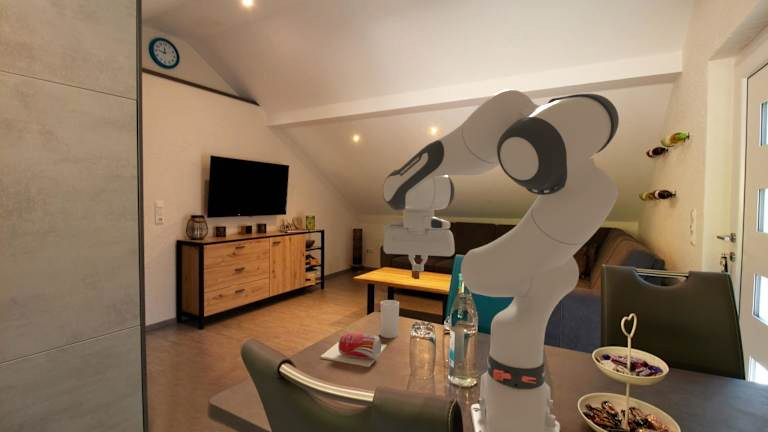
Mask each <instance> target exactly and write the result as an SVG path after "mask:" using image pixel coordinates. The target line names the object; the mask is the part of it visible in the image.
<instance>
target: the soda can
mask: <svg viewBox="0 0 768 432" xmlns="http://www.w3.org/2000/svg"><path fill="white" fill-rule="evenodd" d="M338 342H339V345H338V349H339V352H340V353H341V354H343V355H344V356H347V357H353V358H361V359H376V360H377V359H378V357H380V355H381V354H380V352H381V344H382V340H381V339H380V337H379V336H378V335H375V334H367V333H358V332H356V333H355V332H348V333H347V332H346V333H345V334H341V335H340V337H339V340H338Z"/></svg>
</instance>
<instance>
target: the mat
mask: <svg viewBox="0 0 768 432" xmlns="http://www.w3.org/2000/svg"><path fill="white" fill-rule="evenodd" d="M338 345H339V341H337V342H336V343H335V344H334V345H333V346H331V347H330V348H329V349H327V350H326V352H324V353H322V354H321V355H320V359H322V360H329V361H335V362H339V363H345V364H351V365H355V366H360V367H361V366H363V367H367V368H369V367H371V365H373V363H374V362H375V361H376V360H377V359H361V358H353V357H347V356H344V355H343V354H341V353H340V352H339V349H338ZM386 348H387V344H383V343H381V352H380V355H381V354H382V353H383V351H385V349H386Z"/></svg>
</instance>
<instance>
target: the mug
mask: <svg viewBox="0 0 768 432" xmlns="http://www.w3.org/2000/svg"><path fill="white" fill-rule="evenodd" d="M399 314H400V302H399V301H398V300H394V299H385V300H382V301H380V336H381V337H382V338H386V339H394V338H397V337H398V334H399V316H400V315H399Z"/></svg>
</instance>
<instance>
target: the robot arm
mask: <svg viewBox="0 0 768 432" xmlns="http://www.w3.org/2000/svg"><path fill="white" fill-rule="evenodd" d="M618 113H619V112H618V110H617V108H616V107H615V105H614V104H613V102H612V101H611V100H609V98H607V97H605V96H603V95H600V94H595V93H578V94H577V93H576V94H571V95H566V96H561V97H555V98H551V99H550V100H549V101H548V102H547V104H544V105H543V104H542V105H538V104H536V103H534V101H533V100H532V99H531V98H530V97H529V95H526V94H525V93H523V92H522V91H519V90H516V89H504V90H500V91H498V92H497V93H494V95H492V96H491V97H489V98H488V99H487V100H485V101H484V102H483V103H482V104H481V105H479V106H478V107H477V108H476V109H475V110H474V111H473V112H472V113H471V114H470V115H469V116H468V117H467V118H466V119H465V120H464V122H462V123H461V125H459V126H458V127H456V128H455V129H453V130H452V131H451V132H449V133H447V134H446V135H444V136H442V137H441V138H439V139H435V141H432V142H430V143H428V144H427V145H426V146H424V147H423V148H422V149H421V150H419V151H418V152H417V153H416V154H415V155H414V156H412V157H411V158H410V159H409V160H408V161H407V162H406V163H404V164H403V165H402V166H401V167H400V168H398V169H394V170H393V171H392V172H391V173H389V175H388V176H387V177H386V178H385V180H384V183H383V187H382V195H383V200H384V201H385V202H386V204H387V205H388V206H389V207H390V208H391V209H392V210H394V211H403V212H402V221H397V222H396V221H389V222H388V223H386V224H385V225H384V227H383V235H384V239H383V247H382V248H383V252H384V253H385V254H387V255H391V254H392V255H408V260H409V262H410V263H411V266H412V271H413V272H424V270H425V269H424V268H425V266H424V265H425V264H426V262H427V260H428V258H429V257H428V256H431V257H433V256H435V257H451V256H453V255H454V254H455V250H456V249H455V239H454V234H453V232H452V231H451V230H450V228H451V222H450V221H448V220H445V219H443V218H440V217H436V216H435V210H436V211H439V210H446V209H447V208H448V207H449V206H450V205H451V204H452V203H453V201H454V199H455V184H454V182H453V180H452V179H451V178H450V176H477V175H481V174H484V173H486V172H489V171H491V170H493V169H495V168H497V167H498V166H499V165H500V167H501V169H502V171H503V172H504V173H505V175H507V177H508V178H510V179H511V180H512V181H514V183H516V185H519V186H521V187H523V188H525V189H526V190H527V191H528V192H529V193H532V194H534V195H538V196H537V198H536V199H535V200H534V202H533V203H532V204H531V206H530V207H529V208H528V210H527V211H526V213H525V214H524V216H523V217H522V218H521V220H520V221H519V223H517V225H516V226H514V227H513V228H512V229H511V230H509V231H508V232H506V233H505V234H503V235H501V236H500V237H498V238H497V239H495V240H493V241H491V242H489V243H488V244H484V245H483V246H480V247H477V248H473V249H470V250H468V252H467V253H466V254H465V255H464V257H463V259H462V261H461V265H460V275H461V279H462V281H463V283H464V285H465V287H466V289H468V291H470V293H472V294H476V295H482V296H485V297H491V298H513V300H512V301H511V303H510V304H509V305H508V307H506V308H505V309H503V310H501V311H500V312H498V313H497V314H496V315H495V316H494V317H493V318H492V321H491V324H490V343H489V344H490V346H489V349H490V350H489V352H488V354H487V358H486V359H487V362H486V363H487V371H485V372H484V373H483V374H482V375H481V376H480V388H479V389H480V390H479V398H478V400H477V403H474V404H472V405H471V406H470V410H469V411H470V415H471V416H470V417H471V423H472V427H473V432H561V424H560V422H559V421H557V420H556V415H555V414H552V413H551V410H550V408H554V400H552V399H551V387H550V386H549V385H548V384H547V383H546V382H545V375H546V367H545V366H546V365H545V361H544V345H545V344H544V343H545V337H546V336H545V335H546V328H547V325H548V323H549V322H548V321H549V319H550V316H551V315H552V313H553V311H554V309H555V308H556V306H557V305H558V304H559V303H560V301H561V300H562V299H563V298H564V297H565V296H566V295H568V294H569V293H570V292H572V291H573V290H574V289H575V287H576V286H577V284H578V281H579V279H580V278H579V276H580V272H579V271H580V270H579V265H578V263H577V261H576V259H575V258H574V255H575V254H576V253H577V252H578V251H580V249H581V248H582V247H583V246H584V245H585V244H586V243H587V242H588V241H589V240H590V239H591V238H592V237H593V236H594V234H595V233H596V232H597V231H598V230H599V229H600V228H601V226H602V225H603V223H605V221H606V219H607V217H608V216H609V215H610V213H611V211H612V210H613V208H614V206H615V204H616V203H617V201H618V196H619V190H618V186H617V184H616V181H615V180H614V179H613V177H612V176H611V175H610V174H609V173H608V172H606V171H605V170H604V169H602V168H600V167H598V166H597V165H596V162H595V161H594V158H593V156H595V155H596V154H599V153H600V152H602V151H603V150H604V149H605V148H606V147H607V146H608V145H609V144H610V143H611V142H612V140H613V139H614V137H615V135H616V134H617V130H618V128H619V122H620V119H619V114H618ZM416 256H420V259H421V263H420V264H418V263H416V262H415V258H416Z"/></svg>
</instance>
